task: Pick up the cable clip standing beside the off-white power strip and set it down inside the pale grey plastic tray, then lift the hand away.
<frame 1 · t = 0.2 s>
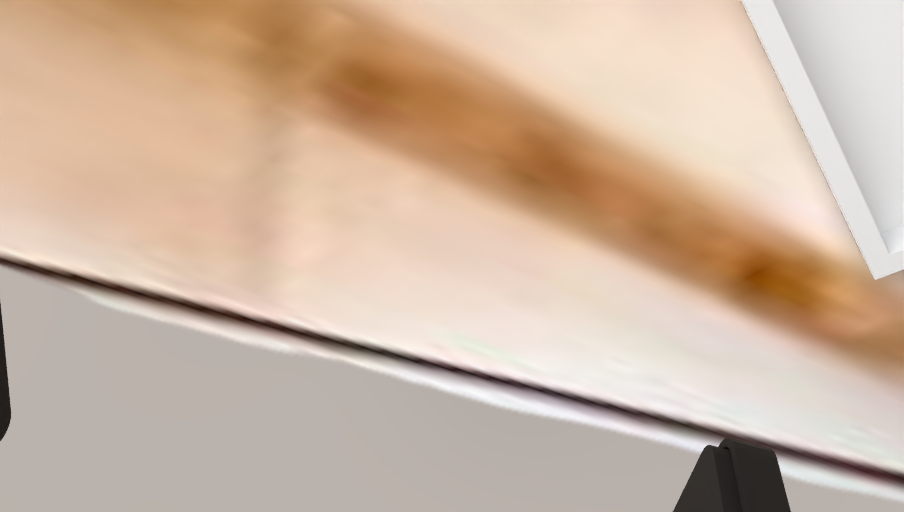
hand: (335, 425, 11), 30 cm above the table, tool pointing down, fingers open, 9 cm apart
cable tray: (903, 44, 36), on the table
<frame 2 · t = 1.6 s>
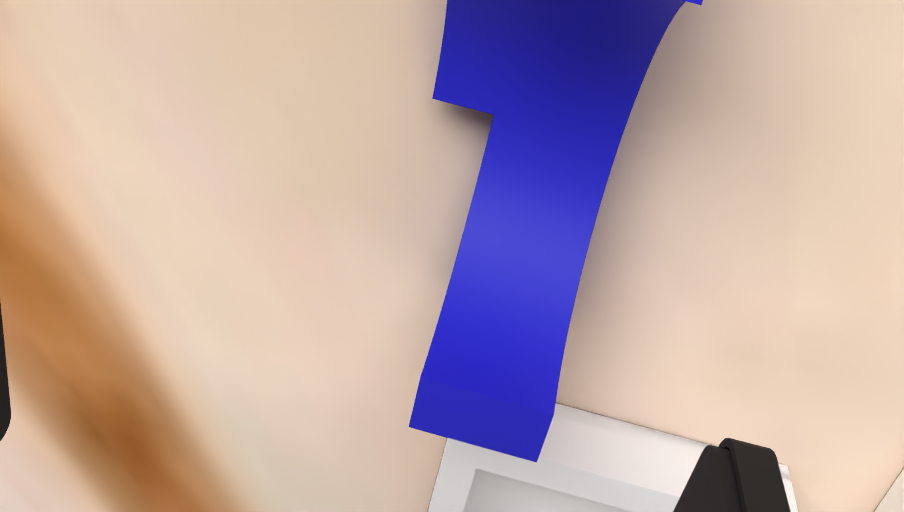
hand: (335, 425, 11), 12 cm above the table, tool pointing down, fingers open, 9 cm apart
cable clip: (531, 97, 21), on the table
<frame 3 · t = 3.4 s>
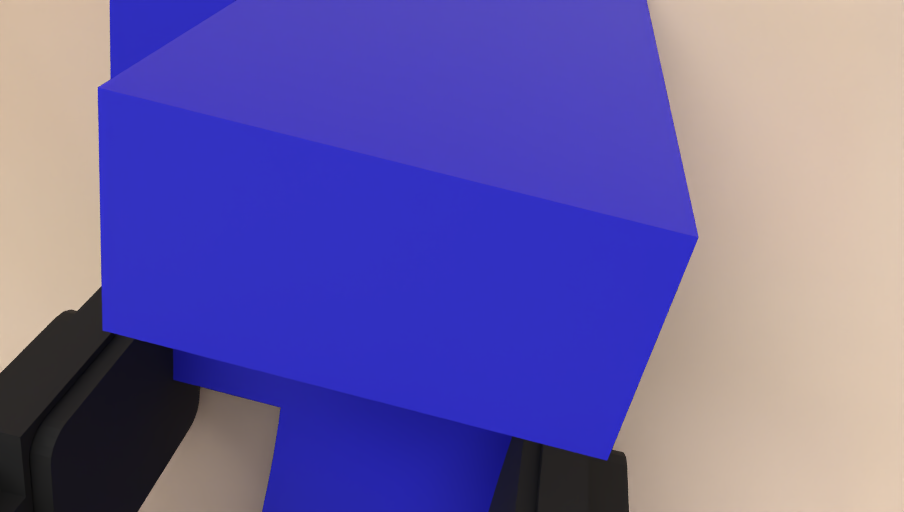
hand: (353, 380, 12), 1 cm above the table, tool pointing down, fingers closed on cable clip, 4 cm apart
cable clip: (366, 346, 12), on the table, touching gripper
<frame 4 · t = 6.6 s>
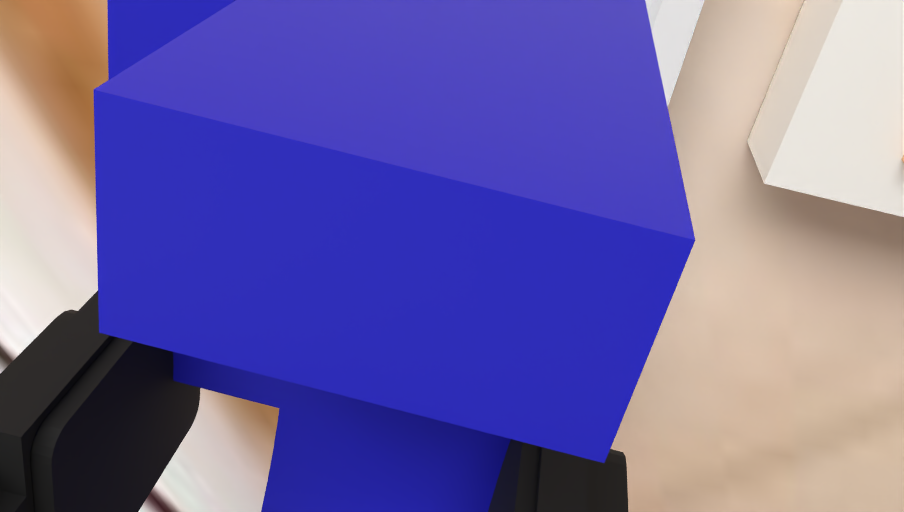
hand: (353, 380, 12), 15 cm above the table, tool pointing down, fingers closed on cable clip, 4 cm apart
cable tray: (485, 78, 25), on the table
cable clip: (365, 346, 12), point 15 cm above the table, touching gripper
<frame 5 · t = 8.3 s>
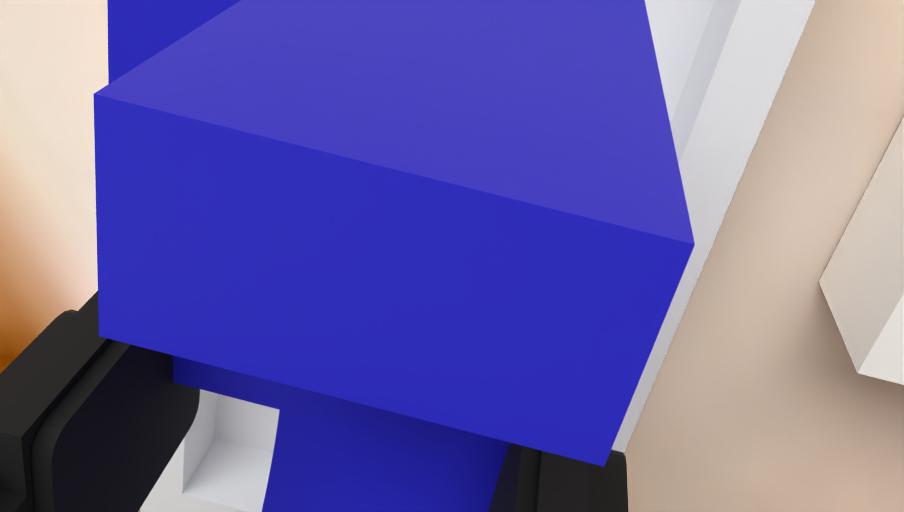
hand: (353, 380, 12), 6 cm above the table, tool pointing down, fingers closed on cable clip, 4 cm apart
cable tray: (434, 184, 17), on the table
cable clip: (365, 348, 12), point 6 cm above the table, touching gripper
when the fingers open (4 cm above the table, at t = 9.6 s): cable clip drops 2 cm, resting on cable tray.
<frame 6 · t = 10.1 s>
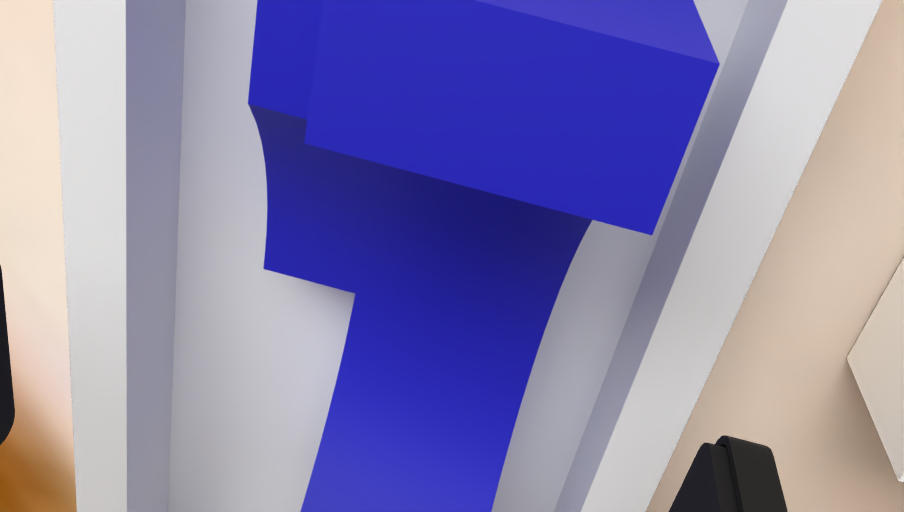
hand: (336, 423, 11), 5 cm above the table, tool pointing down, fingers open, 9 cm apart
cable tray: (407, 246, 15), on the table
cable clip: (420, 253, 15), resting on cable tray
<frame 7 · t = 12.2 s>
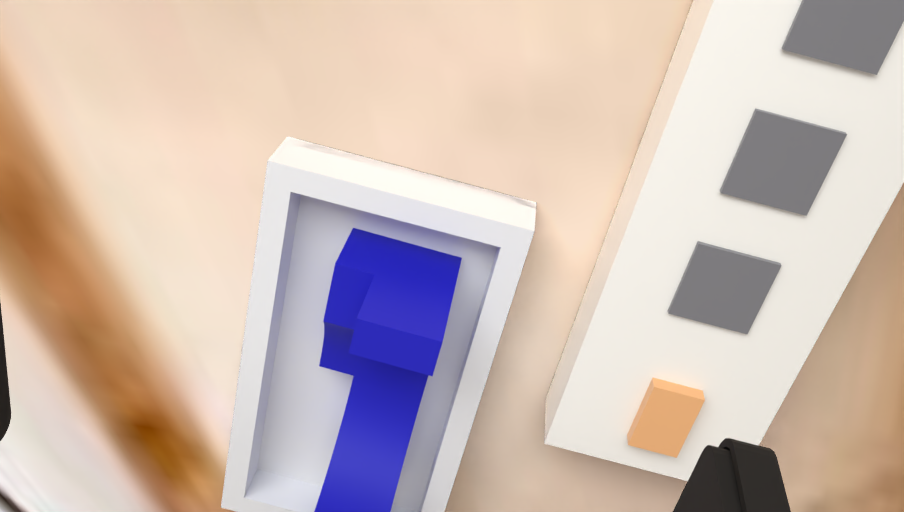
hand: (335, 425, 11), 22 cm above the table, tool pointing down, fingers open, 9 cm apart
cable tray: (370, 351, 37), on the table
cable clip: (378, 357, 37), resting on cable tray
power strip: (740, 180, 31), on the table
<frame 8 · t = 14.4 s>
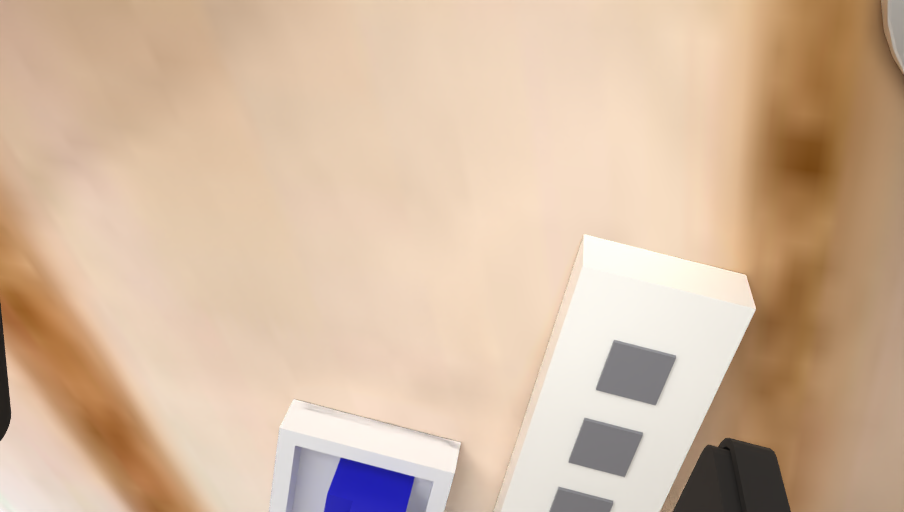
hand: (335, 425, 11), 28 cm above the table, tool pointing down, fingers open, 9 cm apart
power strip: (594, 435, 47), on the table
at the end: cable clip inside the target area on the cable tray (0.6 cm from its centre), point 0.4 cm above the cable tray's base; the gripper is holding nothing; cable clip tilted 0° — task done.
